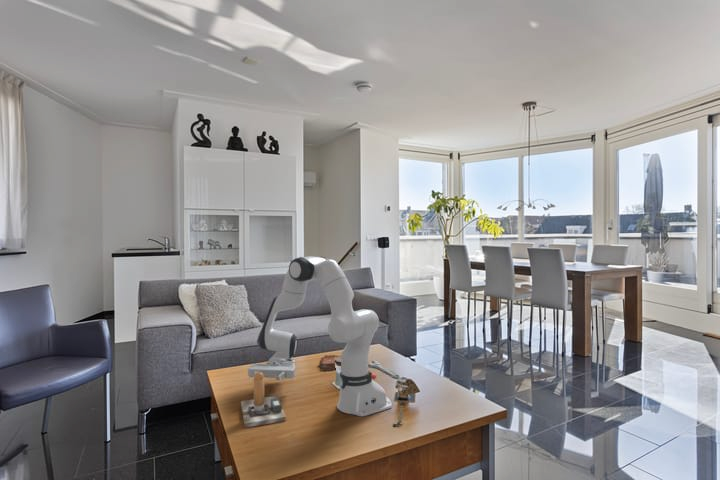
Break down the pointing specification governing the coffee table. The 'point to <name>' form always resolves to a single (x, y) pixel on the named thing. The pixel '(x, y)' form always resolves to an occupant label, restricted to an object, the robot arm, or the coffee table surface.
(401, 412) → the tactical tomahawk
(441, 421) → the coffee table surface
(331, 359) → the pottery shard
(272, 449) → the coffee table surface
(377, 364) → the adjustable wrench
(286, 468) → the coffee table surface
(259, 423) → the metal mounting plate
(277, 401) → the block
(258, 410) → the tan rounded rod
